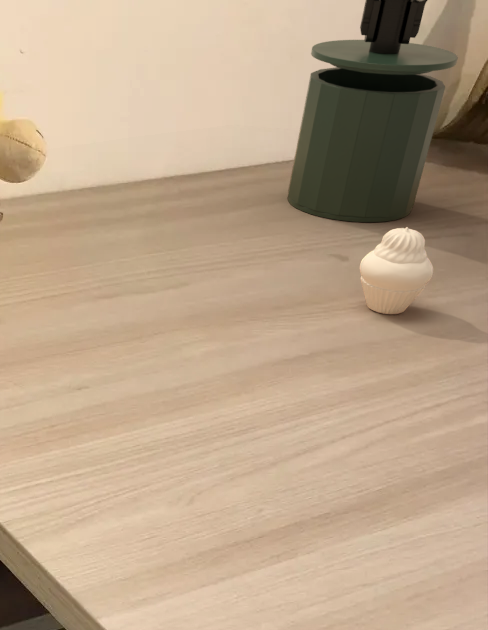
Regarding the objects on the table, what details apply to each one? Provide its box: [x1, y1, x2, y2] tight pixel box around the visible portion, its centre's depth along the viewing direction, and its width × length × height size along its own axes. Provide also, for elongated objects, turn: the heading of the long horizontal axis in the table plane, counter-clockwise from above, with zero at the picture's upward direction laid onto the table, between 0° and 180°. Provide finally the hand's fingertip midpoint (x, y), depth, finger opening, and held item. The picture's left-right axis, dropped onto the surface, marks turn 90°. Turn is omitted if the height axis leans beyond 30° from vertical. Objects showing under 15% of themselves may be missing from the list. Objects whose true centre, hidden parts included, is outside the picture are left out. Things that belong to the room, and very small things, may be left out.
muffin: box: [359, 226, 434, 315], centre depth 90 cm, size 6×6×7 cm
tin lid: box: [310, 0, 459, 75], centre depth 106 cm, size 15×15×7 cm
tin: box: [286, 66, 446, 223], centre depth 113 cm, size 14×14×12 cm
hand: (386, 41), depth 107 cm, fingers closed on tin lid, 3 cm apart
